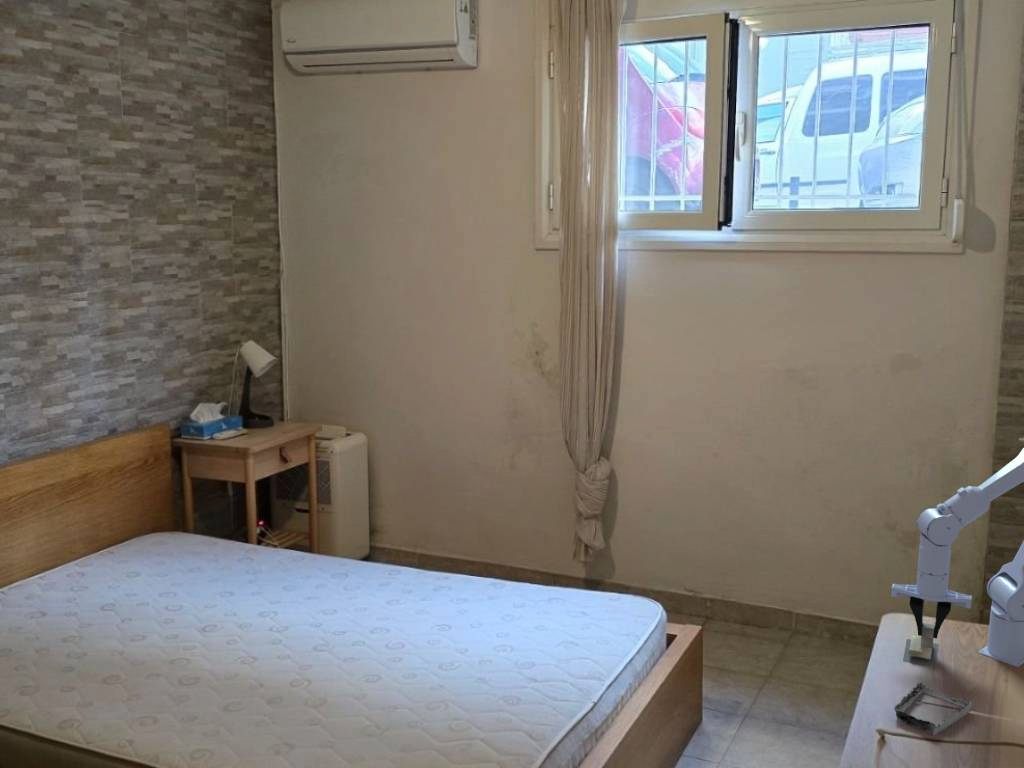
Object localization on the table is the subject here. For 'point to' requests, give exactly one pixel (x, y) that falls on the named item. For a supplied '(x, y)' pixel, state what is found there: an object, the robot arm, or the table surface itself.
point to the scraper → (922, 642)
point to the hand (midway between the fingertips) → (927, 634)
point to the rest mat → (917, 659)
